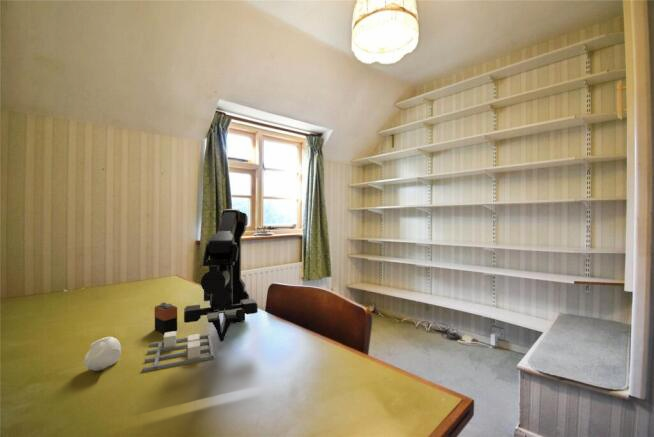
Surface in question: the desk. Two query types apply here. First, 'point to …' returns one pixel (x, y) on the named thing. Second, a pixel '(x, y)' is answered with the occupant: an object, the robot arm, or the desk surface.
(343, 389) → the desk surface
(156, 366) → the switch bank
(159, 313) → the battery
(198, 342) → the cream block
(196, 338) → the beige squarish block
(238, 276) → the robot arm
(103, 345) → the white rounded piece
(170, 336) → the cream squarish block
